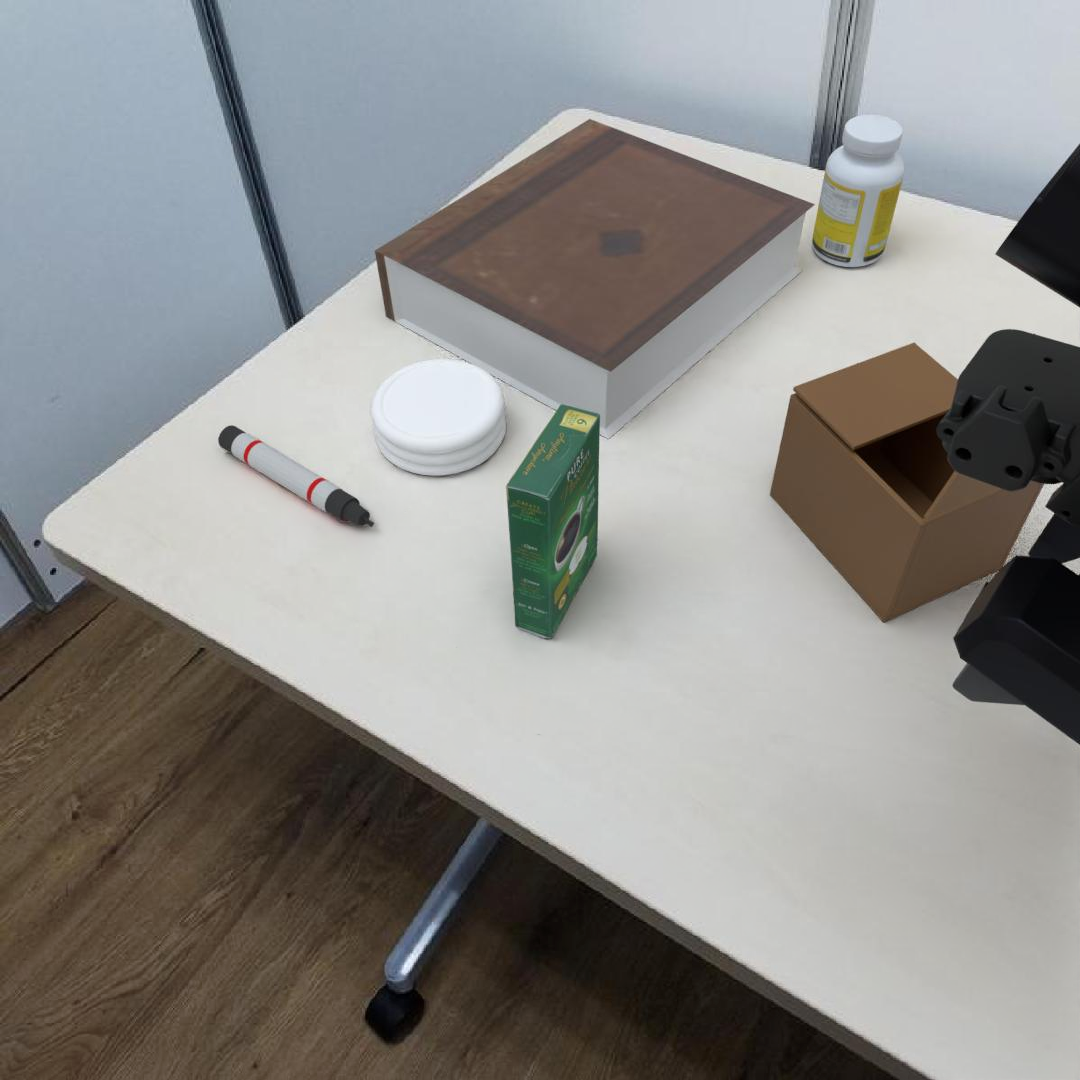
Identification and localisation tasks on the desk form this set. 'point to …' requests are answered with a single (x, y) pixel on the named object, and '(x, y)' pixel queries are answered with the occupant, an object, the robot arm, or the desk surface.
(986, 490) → the flap
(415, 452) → the white round container
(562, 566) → the coffee box
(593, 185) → the book
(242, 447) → the marker
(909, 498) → the carton
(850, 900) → the desk surface
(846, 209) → the pill bottle
